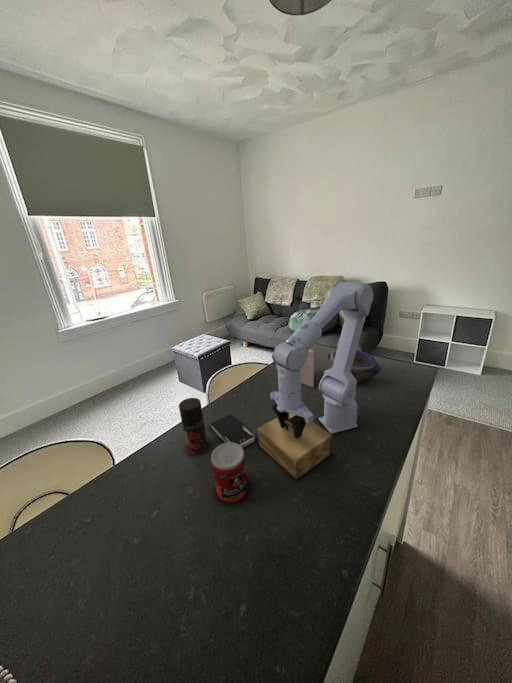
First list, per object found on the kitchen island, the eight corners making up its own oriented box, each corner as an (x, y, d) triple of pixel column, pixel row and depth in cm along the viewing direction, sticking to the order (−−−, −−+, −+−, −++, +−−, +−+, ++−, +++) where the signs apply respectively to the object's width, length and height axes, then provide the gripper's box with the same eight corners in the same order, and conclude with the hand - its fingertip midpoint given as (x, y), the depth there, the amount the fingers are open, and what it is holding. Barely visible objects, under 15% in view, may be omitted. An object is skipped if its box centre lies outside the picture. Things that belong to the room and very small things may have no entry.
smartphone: (230, 414, 94) (255, 437, 82) (230, 417, 95) (256, 440, 83) (210, 423, 90) (233, 449, 78) (210, 426, 91) (234, 452, 79)
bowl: (382, 388, 105) (385, 364, 101) (334, 390, 105) (335, 367, 102) (365, 366, 121) (367, 345, 118) (324, 369, 122) (325, 348, 118)
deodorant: (211, 442, 84) (204, 400, 78) (199, 456, 79) (191, 412, 73) (195, 437, 86) (187, 396, 81) (183, 450, 81) (174, 407, 76)
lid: (292, 411, 86) (291, 398, 84) (332, 437, 74) (332, 423, 72) (257, 430, 79) (256, 417, 78) (295, 462, 67) (295, 448, 66)
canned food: (223, 509, 63) (217, 473, 59) (212, 484, 70) (206, 449, 66) (253, 494, 66) (250, 458, 62) (239, 471, 73) (235, 437, 69)
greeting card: (315, 387, 109) (316, 352, 103) (297, 390, 107) (297, 355, 102) (304, 374, 119) (304, 341, 114) (287, 376, 118) (287, 344, 112)
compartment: (290, 426, 88) (290, 412, 86) (329, 455, 76) (330, 439, 74) (259, 445, 81) (257, 430, 79) (296, 479, 69) (295, 463, 67)
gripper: (260, 383, 74) (263, 424, 79) (298, 406, 63) (299, 453, 68) (280, 374, 78) (282, 414, 83) (319, 395, 67) (318, 440, 72)
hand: (291, 431), depth 76 cm, fingers closed on lid, 5 cm apart
